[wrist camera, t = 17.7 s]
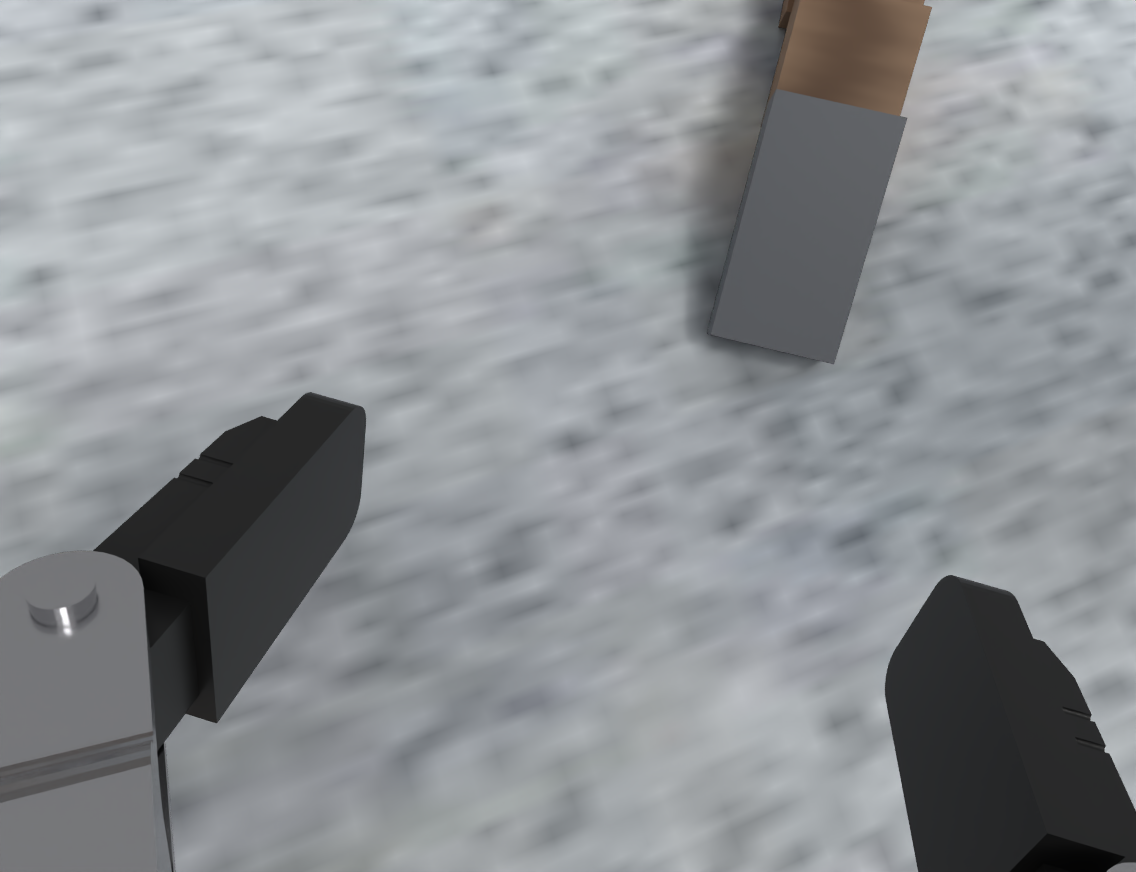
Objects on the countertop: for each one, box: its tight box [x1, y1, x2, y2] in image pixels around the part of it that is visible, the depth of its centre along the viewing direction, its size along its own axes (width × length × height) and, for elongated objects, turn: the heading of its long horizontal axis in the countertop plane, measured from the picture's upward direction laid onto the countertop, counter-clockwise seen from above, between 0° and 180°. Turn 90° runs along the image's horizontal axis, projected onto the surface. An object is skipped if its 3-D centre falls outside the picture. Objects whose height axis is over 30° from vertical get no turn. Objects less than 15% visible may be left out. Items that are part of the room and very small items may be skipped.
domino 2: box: [707, 89, 907, 364], centre depth 31 cm, size 5×2×10 cm
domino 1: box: [769, 0, 932, 116], centre depth 32 cm, size 5×2×10 cm
